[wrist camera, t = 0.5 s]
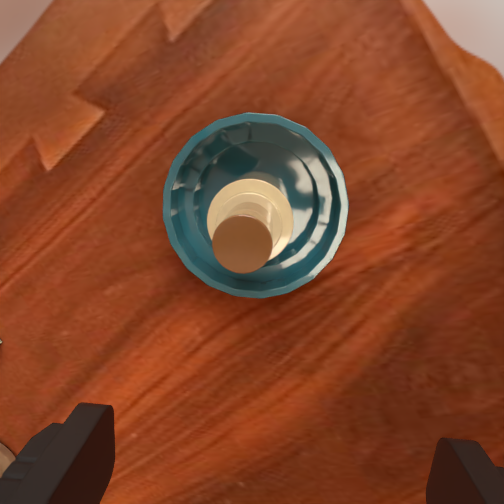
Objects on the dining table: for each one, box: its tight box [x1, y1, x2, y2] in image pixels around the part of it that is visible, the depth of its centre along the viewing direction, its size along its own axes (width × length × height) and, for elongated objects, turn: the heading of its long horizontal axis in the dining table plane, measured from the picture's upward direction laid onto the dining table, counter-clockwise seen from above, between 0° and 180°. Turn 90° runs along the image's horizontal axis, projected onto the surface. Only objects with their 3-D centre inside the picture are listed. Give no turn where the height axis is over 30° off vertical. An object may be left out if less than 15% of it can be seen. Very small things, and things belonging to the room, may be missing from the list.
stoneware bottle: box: [207, 171, 294, 274], centre depth 25 cm, size 5×5×14 cm
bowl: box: [163, 112, 349, 298], centre depth 30 cm, size 13×13×5 cm
